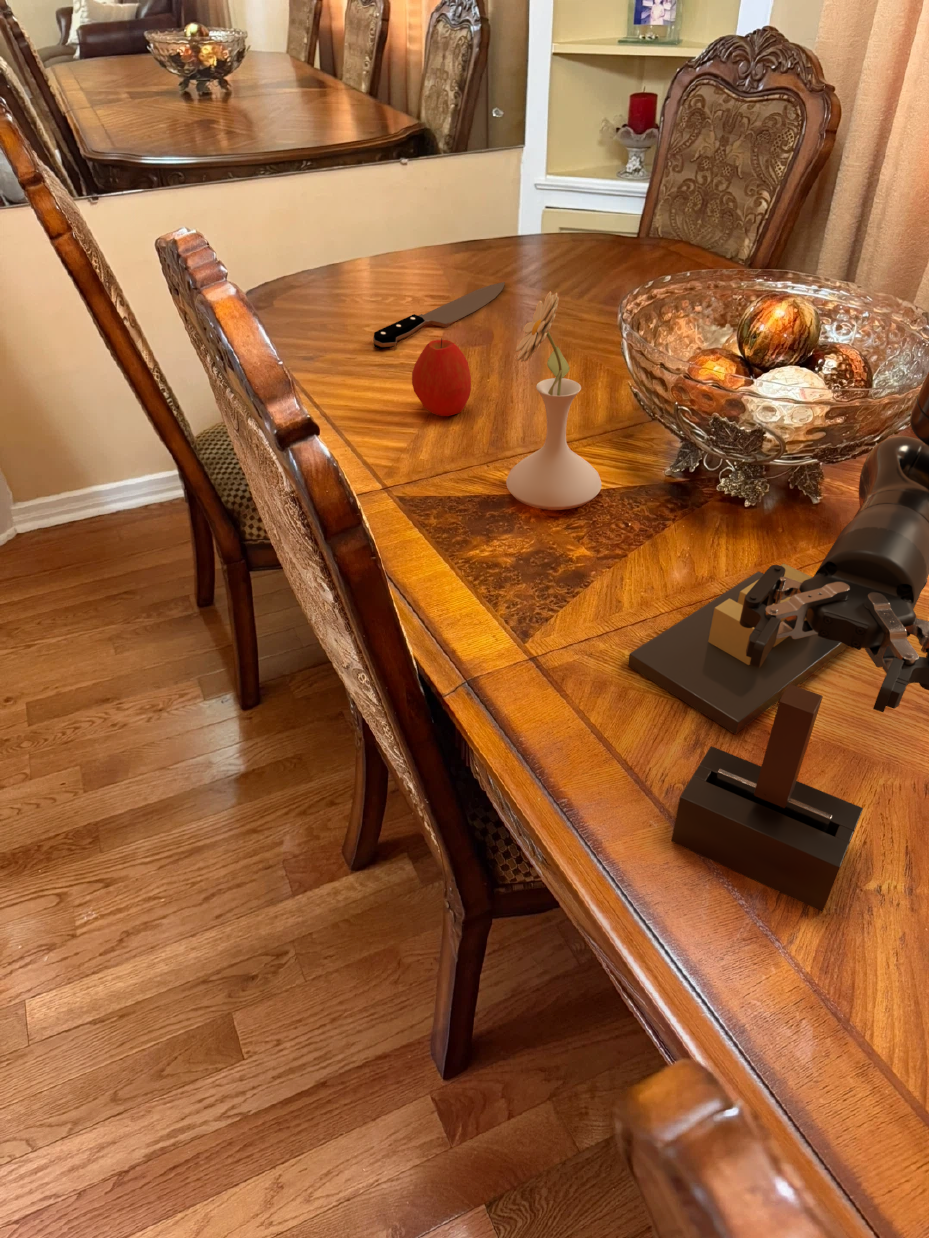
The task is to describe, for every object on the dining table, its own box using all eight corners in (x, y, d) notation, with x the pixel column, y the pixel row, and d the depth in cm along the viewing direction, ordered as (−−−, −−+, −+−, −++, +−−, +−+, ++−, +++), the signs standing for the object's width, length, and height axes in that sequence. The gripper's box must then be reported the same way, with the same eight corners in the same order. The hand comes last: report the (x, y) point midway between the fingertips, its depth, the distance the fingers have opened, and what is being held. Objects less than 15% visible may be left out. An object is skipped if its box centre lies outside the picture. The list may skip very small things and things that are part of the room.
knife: (711, 815, 68) (745, 667, 59) (816, 861, 65) (870, 712, 56) (701, 832, 67) (735, 684, 58) (807, 881, 63) (861, 731, 54)
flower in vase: (524, 466, 114) (529, 263, 98) (611, 481, 110) (631, 274, 95) (487, 515, 104) (486, 300, 89) (581, 534, 100) (597, 313, 85)
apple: (404, 418, 125) (399, 343, 119) (430, 396, 131) (427, 324, 125) (457, 428, 123) (455, 352, 116) (481, 405, 128) (481, 332, 122)
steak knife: (520, 290, 171) (522, 278, 170) (395, 357, 144) (395, 343, 143) (497, 283, 173) (498, 271, 172) (369, 347, 146) (369, 334, 145)
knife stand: (701, 789, 70) (710, 745, 67) (846, 852, 65) (863, 807, 62) (670, 841, 66) (679, 796, 63) (822, 912, 61) (840, 867, 58)
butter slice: (722, 632, 84) (729, 598, 81) (763, 655, 81) (771, 620, 79) (707, 641, 83) (714, 607, 80) (748, 665, 80) (756, 630, 77)
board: (755, 582, 93) (758, 570, 92) (861, 636, 85) (865, 624, 84) (627, 665, 82) (629, 653, 81) (735, 734, 75) (738, 722, 74)
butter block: (775, 596, 88) (783, 562, 86) (815, 617, 85) (825, 583, 83) (732, 625, 85) (739, 591, 82) (773, 647, 82) (782, 613, 79)
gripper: (798, 502, 73) (726, 602, 62) (988, 554, 66) (945, 674, 56) (779, 578, 77) (710, 682, 67) (956, 632, 71) (910, 758, 60)
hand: (817, 678), depth 61 cm, fingers open, 8 cm apart
